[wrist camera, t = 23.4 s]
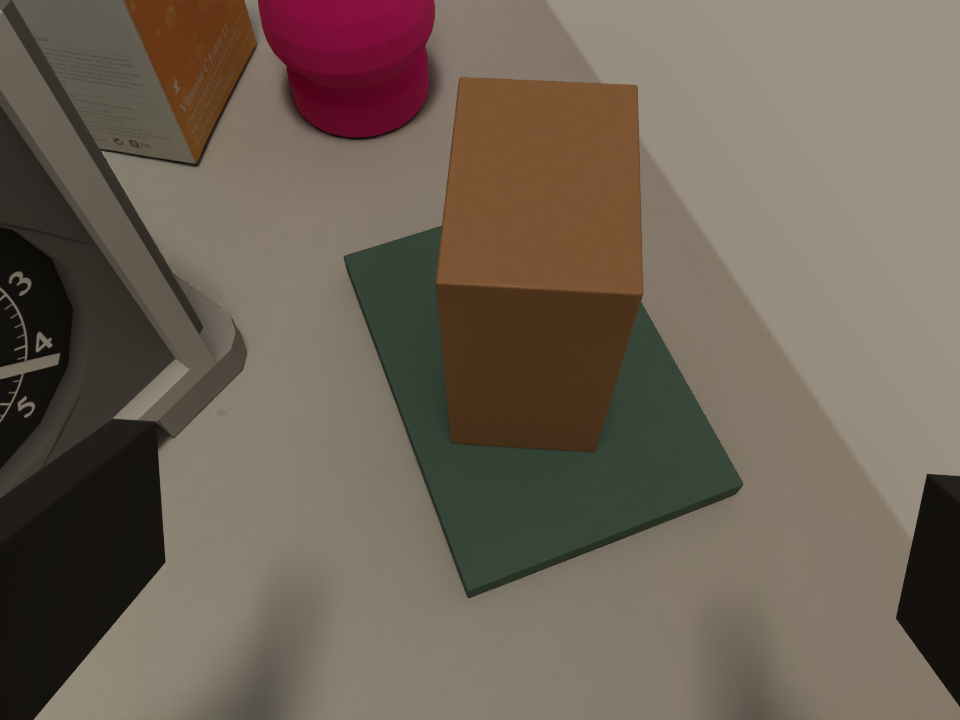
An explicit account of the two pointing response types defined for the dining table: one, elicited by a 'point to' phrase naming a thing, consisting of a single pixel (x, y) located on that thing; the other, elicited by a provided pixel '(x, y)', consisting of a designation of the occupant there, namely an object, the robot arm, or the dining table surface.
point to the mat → (527, 471)
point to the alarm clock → (85, 285)
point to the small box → (145, 67)
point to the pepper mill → (353, 60)
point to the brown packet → (538, 260)
